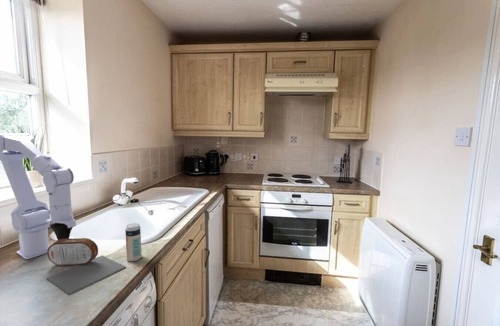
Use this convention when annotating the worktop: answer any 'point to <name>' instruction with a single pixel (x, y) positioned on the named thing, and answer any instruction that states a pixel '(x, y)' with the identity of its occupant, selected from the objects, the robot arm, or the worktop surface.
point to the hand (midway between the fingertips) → (63, 243)
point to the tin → (72, 251)
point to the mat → (85, 274)
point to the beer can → (133, 242)
